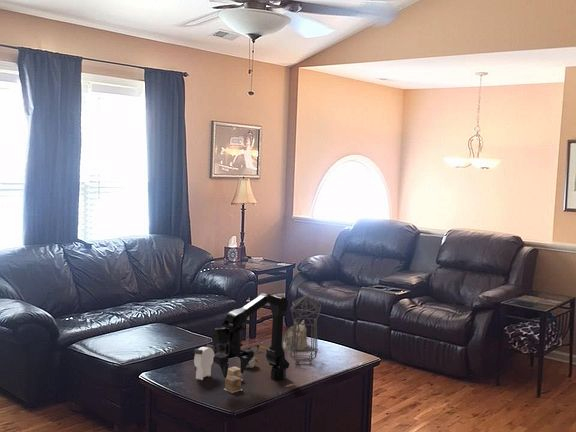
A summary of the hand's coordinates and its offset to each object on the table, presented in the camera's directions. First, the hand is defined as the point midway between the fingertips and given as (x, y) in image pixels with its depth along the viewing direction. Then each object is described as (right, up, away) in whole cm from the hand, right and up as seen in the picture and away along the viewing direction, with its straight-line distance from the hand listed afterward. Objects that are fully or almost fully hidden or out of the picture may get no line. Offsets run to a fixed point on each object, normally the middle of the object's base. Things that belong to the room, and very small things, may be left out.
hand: (233, 375), depth 271 cm
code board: (+1, -7, +5) cm, 9 cm away
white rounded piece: (-15, -6, +15) cm, 22 cm away
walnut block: (0, -6, 0) cm, 6 cm away
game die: (+5, -5, +32) cm, 33 cm away
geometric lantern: (+32, -5, +43) cm, 54 cm away
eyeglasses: (+8, -4, +52) cm, 53 cm away
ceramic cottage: (+27, -3, +74) cm, 79 cm away
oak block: (-1, -5, +13) cm, 14 cm away
